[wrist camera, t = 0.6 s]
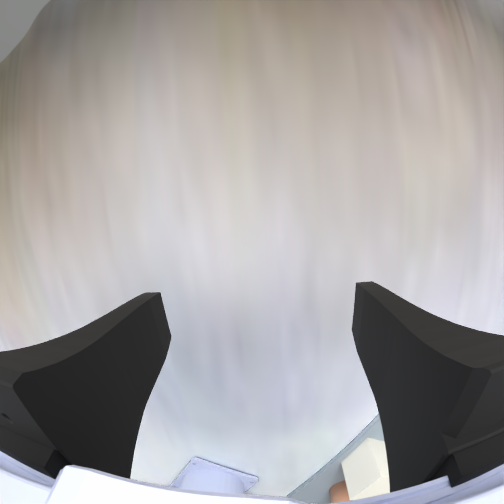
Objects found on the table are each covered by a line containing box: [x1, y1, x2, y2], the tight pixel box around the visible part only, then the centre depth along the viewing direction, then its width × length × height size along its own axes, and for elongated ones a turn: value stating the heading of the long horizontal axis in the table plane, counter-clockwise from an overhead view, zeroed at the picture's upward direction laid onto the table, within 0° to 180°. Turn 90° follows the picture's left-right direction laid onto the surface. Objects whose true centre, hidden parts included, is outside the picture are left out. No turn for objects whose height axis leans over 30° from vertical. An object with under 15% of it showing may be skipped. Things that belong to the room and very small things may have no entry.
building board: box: [287, 414, 384, 504], centre depth 27 cm, size 18×16×1 cm
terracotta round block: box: [329, 480, 351, 503], centre depth 24 cm, size 4×4×6 cm
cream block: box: [341, 438, 390, 500], centre depth 23 cm, size 4×4×6 cm
